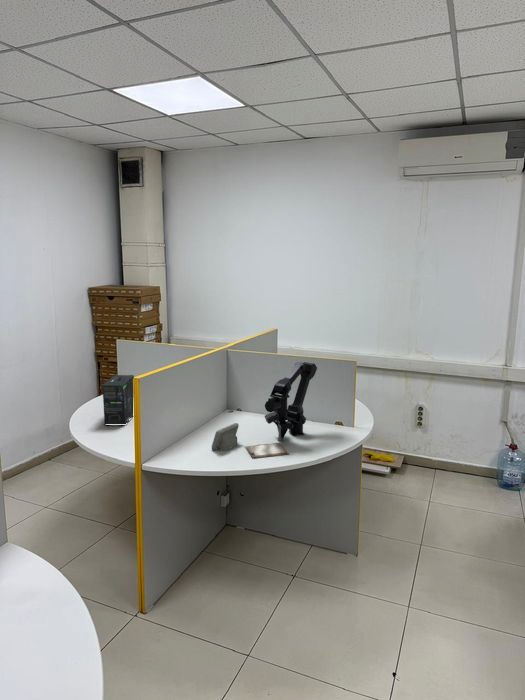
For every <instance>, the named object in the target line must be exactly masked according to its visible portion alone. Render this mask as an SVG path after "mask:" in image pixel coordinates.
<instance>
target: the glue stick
mask: <svg viewBox="0 0 525 700" xmlns="http://www.w3.org/2000/svg"><path fill="white" fill-rule="evenodd" d="M278 426H279V423H278ZM277 433H278V434H277V435H278V436H277V437H278V443H281V442H285V437H284V438H281V433H280V428H278V429H277Z"/></svg>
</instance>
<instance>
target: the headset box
mask: <svg viewBox="0 0 525 700" xmlns="http://www.w3.org/2000/svg"><path fill="white" fill-rule="evenodd" d="M133 378H134V379H135V376H134V374H114V375H113V376H112V377H110V378H109V379H108V380H107V381H105V382H104V383H103V384H102V385H101V387H102V402H103V416H104V425H105V424H126V423H127V422H128V421H129V419H130V418H131V417H133V418H134V416H133ZM129 422H130V421H129Z"/></svg>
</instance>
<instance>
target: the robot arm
mask: <svg viewBox="0 0 525 700" xmlns="http://www.w3.org/2000/svg"><path fill="white" fill-rule="evenodd" d="M317 370H318V367H317V365H316V364H315V363H314V362H308V361H307V362H306V361H304V362H301V361H300V362H299V361H297V362H295V364H294V366H293V367H292V369H290V370H289V372H288V373H287V374H286V375H285V377H284V378H282V379H279V380H278V381H277V382H275V384H274V385H273V388H272V390H271V392H270V395H269V398H267V401H265V404H264V408H265V411H266V412H267V414H265V415H264V419H265V421H266V423H267V424H269V425H270V424H272V423H274V424H275V426H276V429H277V430H278V428H280V433H281V438H284V439H285V436H286V434H287V432H288V433H289V434H290V435H291V436H293V437H294V436H302V435H303V436H304V435H305V433H304V425H305V423H306V422H307V417H305V415H304V413H305V411H304V408H303V404H304V401H305V398H306V396H307V395H306V394H307V392H308V388H309V385H310V381H311V380H312V379H313V378H314V377H315V375H316V374H317V373H316V372H317ZM299 376H300V379H299V382H298V386H297V389H296V393H295V396H294V398H293V399H294V400H293V402H292V403H291V404H288V399H289V398H290V395H289V393H290V392H291V390H292V385H293V383H294V382H295V381H296V380H297V379H298V378H299ZM278 423H279V426H278Z"/></svg>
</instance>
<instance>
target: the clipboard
mask: <svg viewBox="0 0 525 700" xmlns="http://www.w3.org/2000/svg"><path fill="white" fill-rule="evenodd" d="M244 448H245V450H246V451H247V453H248V454H249V456H250V458H252V459H261V458H269V457H278V456H287V455H288V456H289V455H290V453H289V452H288V450H286V448H285V447H284V445H283V444H282V443H281V442H276V443H275V442H274V443H273V442H272V443H265V444H254V445H246V446H244Z"/></svg>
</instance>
